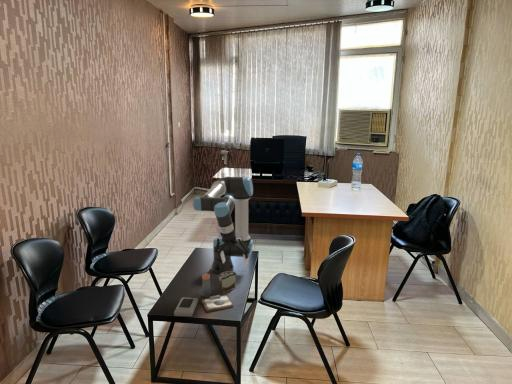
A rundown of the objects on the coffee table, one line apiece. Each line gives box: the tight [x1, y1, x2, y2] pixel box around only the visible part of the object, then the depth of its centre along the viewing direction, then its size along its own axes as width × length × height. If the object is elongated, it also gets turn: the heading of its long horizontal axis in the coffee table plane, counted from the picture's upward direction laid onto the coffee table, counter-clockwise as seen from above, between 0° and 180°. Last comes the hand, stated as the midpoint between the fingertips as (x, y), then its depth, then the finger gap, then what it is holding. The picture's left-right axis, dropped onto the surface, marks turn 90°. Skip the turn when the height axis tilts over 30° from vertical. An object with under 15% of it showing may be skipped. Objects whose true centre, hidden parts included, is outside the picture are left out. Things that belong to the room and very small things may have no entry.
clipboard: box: [201, 294, 234, 313], centre depth 203 cm, size 12×15×2 cm
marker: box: [201, 273, 211, 298], centre depth 212 cm, size 5×5×13 cm
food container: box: [218, 270, 238, 294], centre depth 220 cm, size 12×6×10 cm, turn 134°
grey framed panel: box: [173, 297, 199, 317], centre depth 199 cm, size 10×4×15 cm
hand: (235, 262), depth 200 cm, fingers open, 13 cm apart
